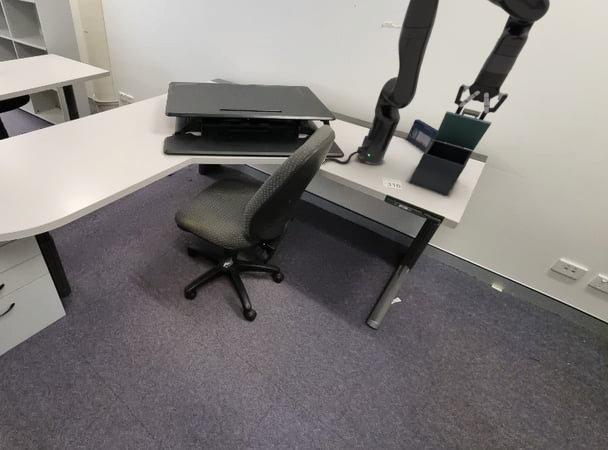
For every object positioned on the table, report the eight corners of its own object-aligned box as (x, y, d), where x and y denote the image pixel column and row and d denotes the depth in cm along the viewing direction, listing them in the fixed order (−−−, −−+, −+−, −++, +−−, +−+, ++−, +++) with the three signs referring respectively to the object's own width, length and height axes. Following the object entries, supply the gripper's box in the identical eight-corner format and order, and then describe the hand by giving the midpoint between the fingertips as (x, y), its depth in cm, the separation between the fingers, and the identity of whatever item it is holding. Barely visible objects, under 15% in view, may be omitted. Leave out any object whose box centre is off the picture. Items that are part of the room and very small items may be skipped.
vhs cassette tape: (405, 139, 158) (414, 119, 152) (411, 138, 159) (420, 119, 152) (431, 158, 145) (442, 137, 138) (437, 157, 145) (448, 136, 139)
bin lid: (490, 124, 109) (497, 112, 109) (445, 112, 115) (452, 101, 116) (473, 150, 123) (479, 139, 124) (434, 139, 130) (440, 129, 130)
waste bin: (446, 196, 123) (465, 166, 114) (408, 182, 129) (423, 153, 121) (455, 179, 132) (473, 150, 123) (419, 167, 138) (434, 139, 130)
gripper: (468, 66, 106) (442, 117, 117) (522, 76, 99) (489, 129, 110) (472, 62, 110) (447, 111, 121) (524, 71, 103) (492, 122, 115)
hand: (467, 119), depth 116 cm, fingers open, 6 cm apart
